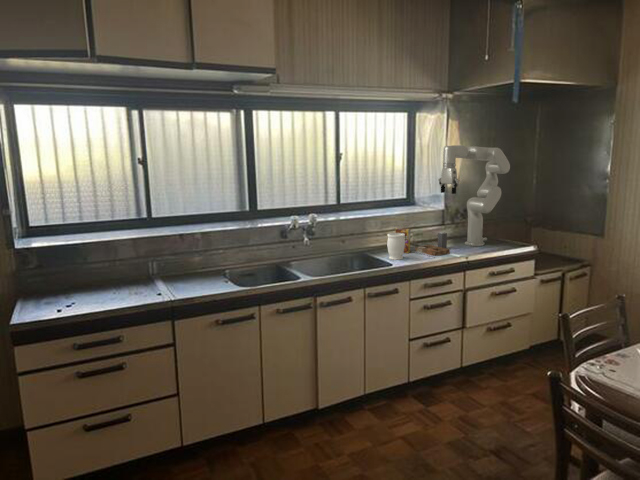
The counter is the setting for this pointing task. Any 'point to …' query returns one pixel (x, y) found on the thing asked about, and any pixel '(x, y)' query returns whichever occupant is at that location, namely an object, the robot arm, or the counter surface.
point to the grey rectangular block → (442, 240)
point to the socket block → (432, 250)
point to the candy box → (405, 238)
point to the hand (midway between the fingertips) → (448, 193)
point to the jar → (395, 245)
